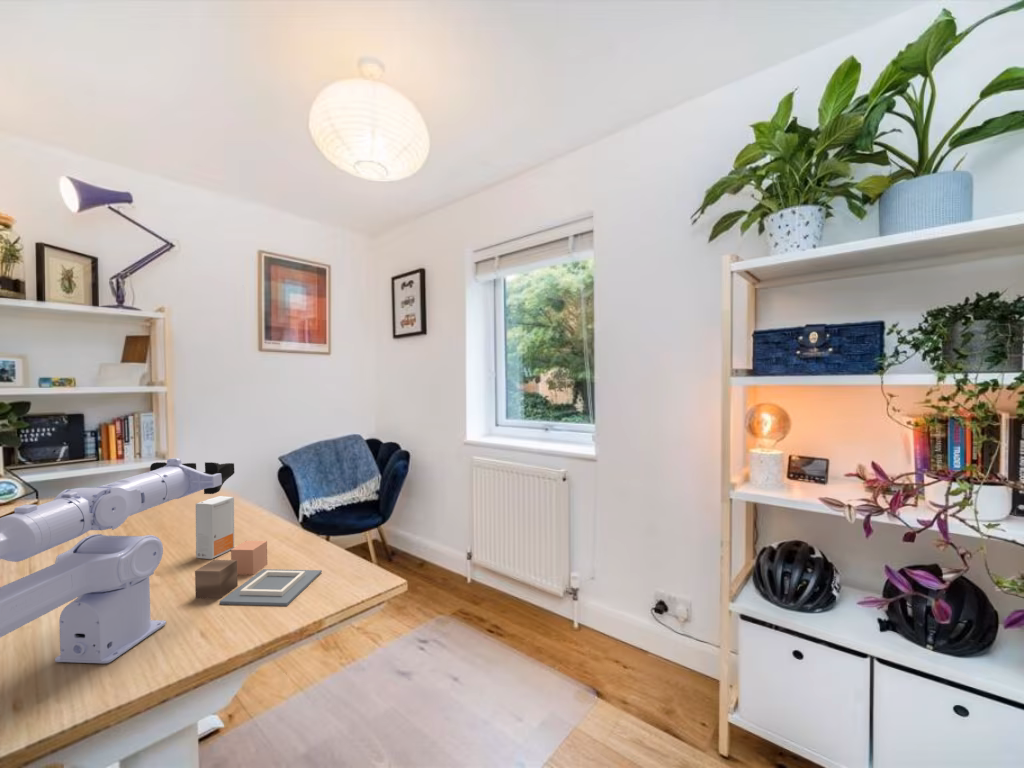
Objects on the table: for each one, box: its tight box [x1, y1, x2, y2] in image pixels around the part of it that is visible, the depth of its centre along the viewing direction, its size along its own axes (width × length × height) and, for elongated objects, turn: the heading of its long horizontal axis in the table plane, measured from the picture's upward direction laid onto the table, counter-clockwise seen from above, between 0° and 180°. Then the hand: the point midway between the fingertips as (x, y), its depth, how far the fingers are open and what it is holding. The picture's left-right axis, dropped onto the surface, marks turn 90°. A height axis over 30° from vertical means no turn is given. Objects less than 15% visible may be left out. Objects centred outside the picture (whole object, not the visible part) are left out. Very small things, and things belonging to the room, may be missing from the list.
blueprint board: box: [219, 568, 323, 607], centre depth 79 cm, size 12×12×1 cm
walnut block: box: [194, 559, 239, 600], centre depth 78 cm, size 4×4×5 cm
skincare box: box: [195, 495, 235, 560], centre depth 94 cm, size 6×4×12 cm
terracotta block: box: [230, 540, 268, 576], centre depth 87 cm, size 4×4×5 cm
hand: (213, 468), depth 83 cm, fingers open, 7 cm apart
